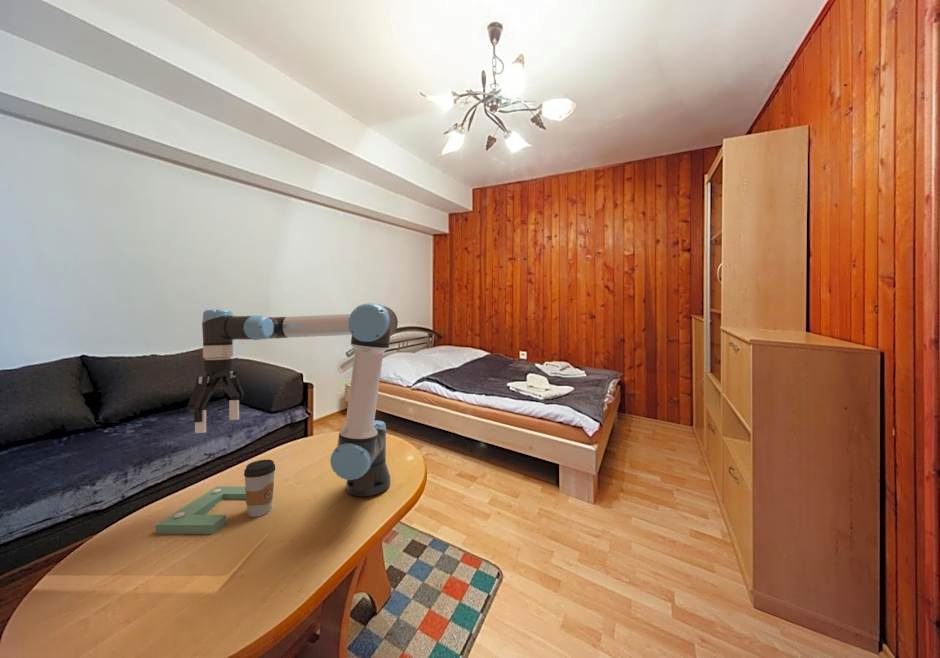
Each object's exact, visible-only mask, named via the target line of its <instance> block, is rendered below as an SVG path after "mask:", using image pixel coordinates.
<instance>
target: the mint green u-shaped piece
mask: <svg viewBox="0 0 940 658" xmlns="http://www.w3.org/2000/svg"><path fill="white" fill-rule="evenodd" d="M245 488H246V487H245V486H215V487H213V488H212V489H210V490H209V491H207V492H206V493H204V494H202V495H201V496H199V497H198V498H196V499H195V500H193V501H191V502H189V503H188V504H186V505H185V506H183V507H182V508H180V509H178V510H177V511H176V512H174V513H172V514H171V515H169V516H168V517H166V518H164V519H163V520H161V521H160V522H158V523H156V524H155V535H213V534H216V532H217V531H219V530H220V529H222V527H224V526H225V525H226V524H227V514H207V513H208V512H210V511H211V509H213V508H215V506H217V505H218V504H219V503H221V502H223V500H246V491H245Z"/></svg>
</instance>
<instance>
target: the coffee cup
mask: <svg viewBox="0 0 940 658" xmlns="http://www.w3.org/2000/svg"><path fill="white" fill-rule="evenodd" d="M243 471H244V473H243V477H244V483H245V484H244V485H245V486H244V487H246V488H245V491H246V499H245V504H246V511H247V515H248V516H249V517H251V518H258V517H262V516H265V515H267V514H268V513H269V512H270V511H271V509H272V506H273V497H274V488H275V487H274V484H275V471H276V464H275V462H274V460H272V459H260V460H255V461H253V462H250V463H248V464H247V465H246V466H245V469H244V470H243Z"/></svg>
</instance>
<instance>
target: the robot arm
mask: <svg viewBox="0 0 940 658" xmlns="http://www.w3.org/2000/svg"><path fill="white" fill-rule="evenodd" d="M201 321H202V322H201V325H202V326H201V327H202V358H203V359H204V360H203V361H202V372H203V373H205V376H197V377H196V379H195V386H194V388H193V391H192V393H191V396H190V399H189V401H188V404H187V406H186V411H189V412H193V422H194V433H195V434H204V433H207V410H206V409H205V408H206V407H207V405H208V403H209V400H211V397H212V396H213V394H214V392H216V391H217V390H218V389H223V390H224V391H225V393H226V394H227V395H228V397H229V398H230V400H229V401H228V402H229V404H228V406H229V407H228V408H229V411H228V415H229V416H228V417H229V421H235V420H236V421H238V420H240V400H243V399H244V397H245V392H244V389H243V387H242V384H241V382H240V379H239V376H238V375H239V373H238V371H237V370H233V369H234V359H233V356H234V345H233V344H234V341H235V340H236V341H237V340H242V341H244V340H245V341H246V340H250V341H252V340H253V341H261V340H267V339H287V338H289V339H290V338H308V337H309V338H311V337H313V338H314V337H330V336H331V337H333V336H334V337H335V336H351V340H350V345H351V346H352V348H353V349H354V356H353V364H352V370H351V371H352V373H351V378H350V379H351V381H350V388H349V394H348V395H349V396H348V403H347V410H346V417H345V418H346V419H345V424H344V426H343V427H341V428H340V429H339V432H338V440H337V446H336V447H335V448H334V449H333V452H332V453H331V456H330V460H329V461H330V467H331V469H332V471H333V472H334V473H335V475H337V476H338V477H339V478H341V479H344V480H346V482H345V483H346V484H345V485H346V486H345V487H346V488H345V489H346V490H345V491H346V492H347V493H348V494H350V495H351V496H355V497H369V496H375V495H377V494H380V493H382V492H385V491H386V490H387V489H389V487H390V486H391V474H390V472H389V468H388V465H387V462H386V456H387V455H386V454H387V451H386V450H387V449H386V448H387V447H386V446H387V425H386V423H385V422H384V421H382V420H375V419H376V413H377V412H376V409H377V403H378V395H379V389H380V388H379V387H380V380H381V379H380V378H381V371H382V365H383V358H384V353H385V351H387V350H388V349H389V348H390V341H391V337H392V336H393V335H394V333H396V331H397V330H398V329H397V328H398V324H399V321H398V317H397V314H396V313H395V311H393V309H391V308H390V307H387V306H386V305H382V304H379V303H375V302H369V303H368V302H366V303H363V304H360V305H358V306H357V307H355V308H354V309H353V310H352V311H351V313H341V314H340V313H339V314H337V313H336V314H320V315H316V314H315V315H300V316H299V315H298V316H276V317H275V316H266V315H233V311H232V310H230V309H205V310H204V311H203V313H202V320H201Z"/></svg>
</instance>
